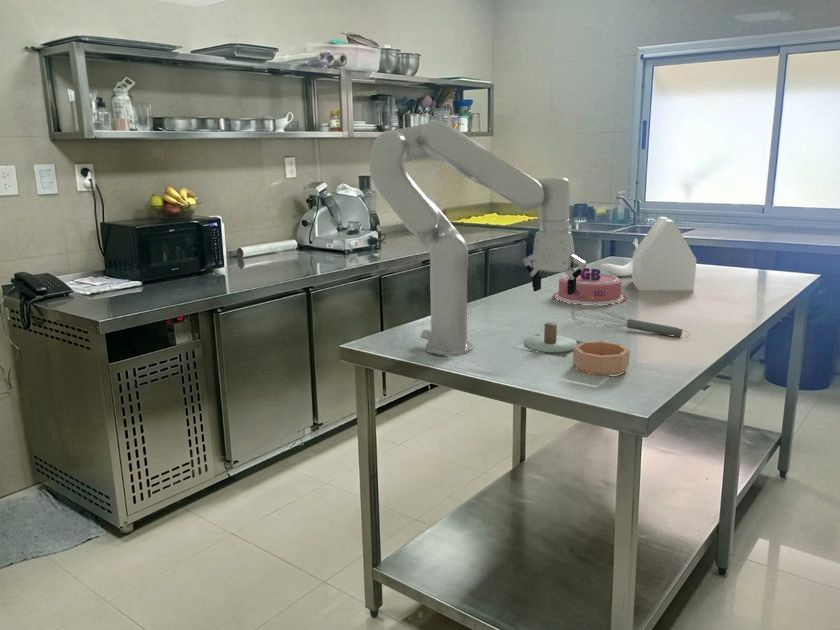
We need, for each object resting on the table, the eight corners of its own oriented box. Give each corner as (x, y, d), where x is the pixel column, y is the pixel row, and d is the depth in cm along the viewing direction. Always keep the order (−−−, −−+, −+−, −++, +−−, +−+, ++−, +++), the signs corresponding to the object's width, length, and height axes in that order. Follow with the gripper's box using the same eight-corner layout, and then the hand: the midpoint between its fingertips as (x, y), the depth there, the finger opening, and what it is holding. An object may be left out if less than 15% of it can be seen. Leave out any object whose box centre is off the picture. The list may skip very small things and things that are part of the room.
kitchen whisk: (686, 341, 181) (688, 319, 179) (567, 326, 199) (568, 305, 197) (691, 336, 186) (693, 314, 184) (575, 321, 204) (575, 301, 202)
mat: (511, 348, 177) (511, 347, 177) (537, 335, 188) (537, 334, 188) (564, 358, 168) (564, 357, 168) (587, 343, 180) (587, 342, 180)
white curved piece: (599, 277, 267) (601, 240, 264) (637, 272, 274) (639, 237, 271) (607, 279, 263) (608, 242, 259) (645, 274, 270) (647, 238, 266)
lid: (514, 347, 177) (514, 326, 175) (538, 335, 188) (538, 315, 186) (563, 356, 169) (563, 334, 167) (585, 342, 179) (586, 321, 178)
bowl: (566, 371, 159) (567, 351, 158) (586, 357, 168) (587, 338, 167) (615, 380, 152) (616, 359, 151) (633, 366, 161) (634, 346, 160)
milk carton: (683, 282, 255) (688, 216, 249) (693, 290, 240) (699, 221, 234) (631, 281, 258) (635, 216, 252) (638, 290, 243) (642, 221, 237)
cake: (544, 303, 228) (545, 272, 225) (562, 288, 249) (563, 260, 247) (619, 309, 217) (621, 277, 214) (632, 293, 239) (633, 264, 236)
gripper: (517, 227, 172) (517, 291, 177) (580, 229, 162) (579, 298, 167) (530, 223, 178) (530, 286, 182) (592, 226, 168) (591, 292, 172)
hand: (553, 292), depth 175 cm, fingers open, 9 cm apart
